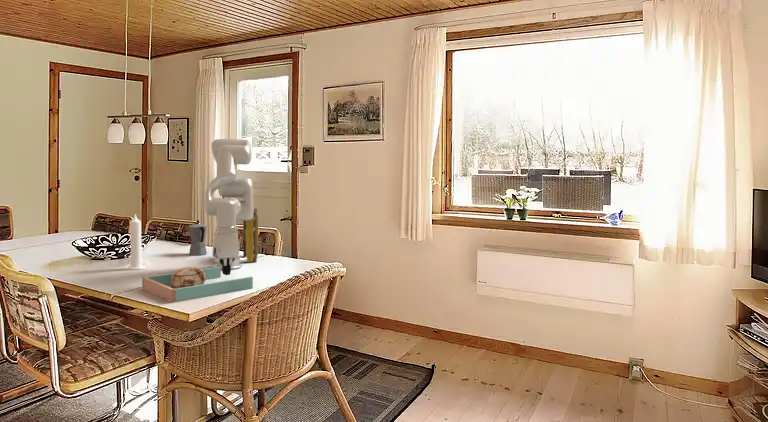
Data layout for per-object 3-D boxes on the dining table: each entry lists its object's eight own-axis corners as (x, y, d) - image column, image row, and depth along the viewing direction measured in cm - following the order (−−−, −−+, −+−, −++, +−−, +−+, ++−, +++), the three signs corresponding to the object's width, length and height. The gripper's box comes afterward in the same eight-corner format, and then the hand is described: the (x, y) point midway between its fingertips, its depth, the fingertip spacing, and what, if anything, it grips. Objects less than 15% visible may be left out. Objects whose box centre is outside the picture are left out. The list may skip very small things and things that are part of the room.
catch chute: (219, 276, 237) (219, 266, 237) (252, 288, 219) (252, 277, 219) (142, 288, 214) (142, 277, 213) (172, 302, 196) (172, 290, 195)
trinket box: (172, 292, 209) (172, 272, 209) (169, 284, 223) (169, 265, 222) (208, 290, 215) (208, 270, 214) (203, 281, 229) (203, 263, 228)
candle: (138, 270, 246) (137, 215, 243) (124, 269, 247) (123, 214, 245) (148, 267, 253) (147, 213, 250) (134, 266, 254) (133, 213, 252)
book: (258, 262, 270) (258, 212, 268) (240, 263, 269) (240, 212, 266) (259, 254, 292) (259, 208, 289) (242, 254, 290) (242, 208, 288)
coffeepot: (185, 253, 291) (184, 219, 289) (202, 251, 296) (202, 218, 295) (194, 257, 279) (194, 222, 277) (212, 256, 284) (212, 221, 282)
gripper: (237, 227, 231) (237, 270, 233) (204, 230, 221) (205, 275, 223) (247, 230, 226) (247, 273, 228) (214, 233, 215) (214, 278, 217)
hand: (226, 274), depth 225 cm, fingers closed
